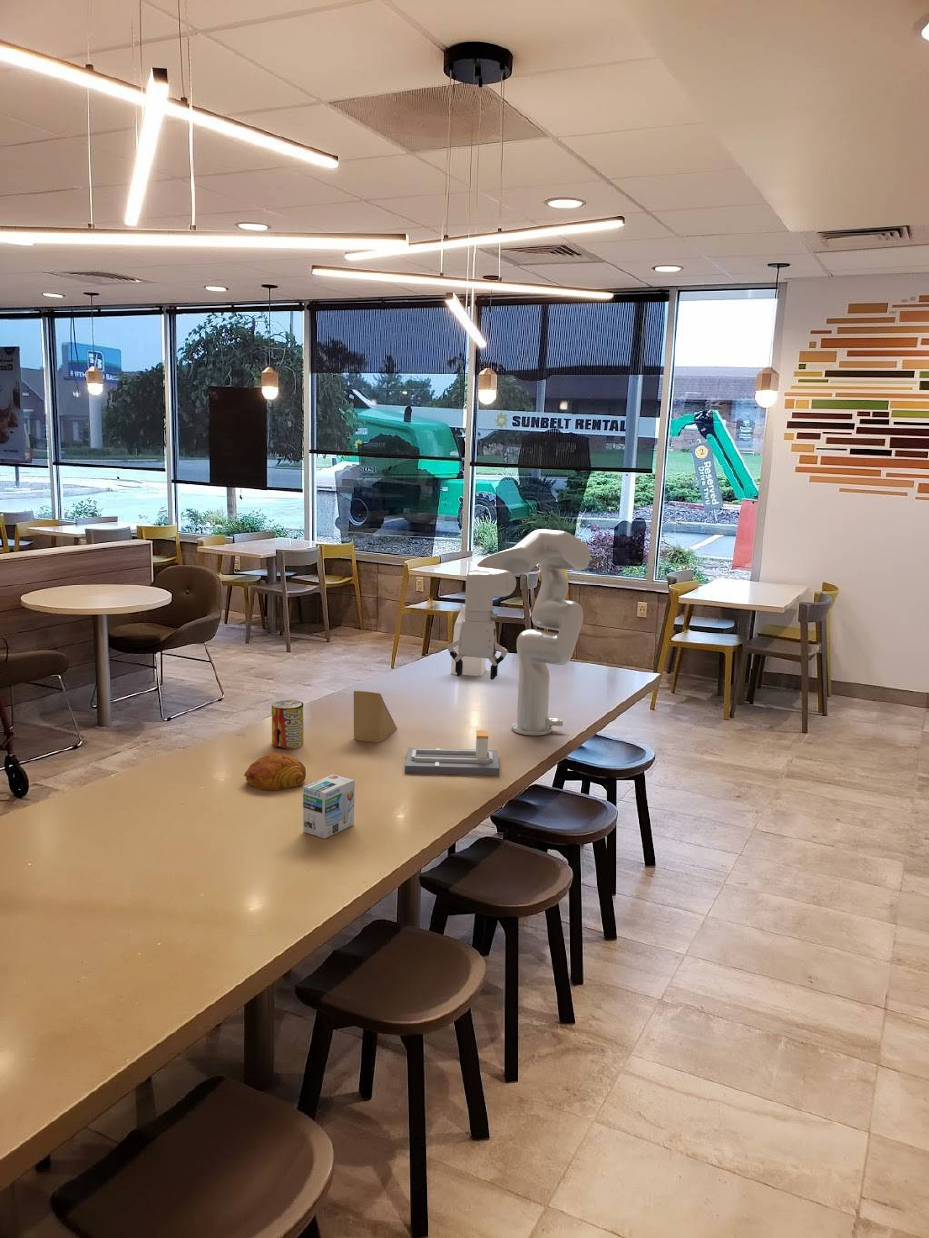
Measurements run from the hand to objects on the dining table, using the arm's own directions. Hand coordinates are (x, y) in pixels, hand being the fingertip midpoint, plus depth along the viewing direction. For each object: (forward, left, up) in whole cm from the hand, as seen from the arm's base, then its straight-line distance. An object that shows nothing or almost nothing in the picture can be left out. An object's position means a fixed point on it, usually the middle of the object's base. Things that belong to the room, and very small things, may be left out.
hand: (476, 677), depth 259 cm
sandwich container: (+29, -19, -23) cm, 42 cm away
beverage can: (+53, -6, -23) cm, 59 cm away
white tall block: (0, -101, -23) cm, 104 cm away
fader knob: (-2, +8, -21) cm, 22 cm away
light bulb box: (+33, +53, -23) cm, 67 cm away
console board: (+6, +8, -23) cm, 25 cm away
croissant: (+51, +24, -23) cm, 61 cm away
